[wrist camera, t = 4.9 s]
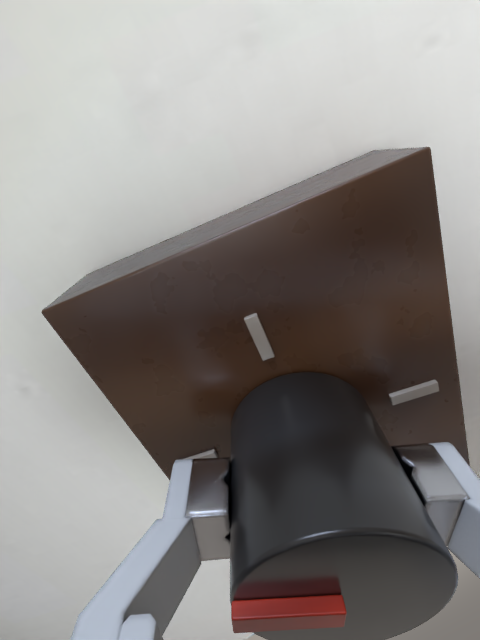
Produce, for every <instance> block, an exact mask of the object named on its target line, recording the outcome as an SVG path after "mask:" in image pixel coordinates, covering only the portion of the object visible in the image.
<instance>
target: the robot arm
mask: <svg viewBox="0 0 480 640" xmlns="http://www.w3.org/2000/svg"><path fill="white" fill-rule="evenodd" d="M391 448H392V449H393V451H394V453H395V455H396V457H397V458H398V460H399V462H400V464H401V466H402V467H403V469H404V471H405V473H406V475H407V477H408V478H409V480H410V482H411V484H412V486H413V487H414V489H415V491H416V493H417V495H418V496H419V498H420V500H421V502H422V504H423V505H424V507H425V509H426V511H427V513H428V514H429V516H430V518H431V520H432V522H433V523H434V525H435V527H436V529H437V531H438V532H439V534H440V536H441V538H442V540H443V541H444V543H445V545H446V546H448V547H447V548H448V549H449V550H450V551H451V552H452V553H453V554H454V555H455V556H456V557H457V558H458V559H459V560H460V561H462V562H463V563H464V564H465V565H466V566H467V567H468V568H469V569H470V570H471V571H472V572H473V573H474V574H475V575H477V577H479V578H480V479H479V478H478V477H477V475H476V474H475V473H474V472H473V470H472V469H471V468H470V466H469V465H468V464H467V463H466V461H465V460H464V459H463V457H462V456H461V455H460V454H459V452H458V451H457V450H456V448H455V447H454V446H453V445H452V444H451V443H449V442H441V443H429V444H427V443H422V444H409V445H397V446H391ZM230 467H231V463H230V458H229V457H225V458H199V459H180V460H175V462H174V464H173V468H172V473H171V478H170V483H169V488H168V493H167V498H166V503H165V508H164V513H163V518H162V519H157V520H156V521H155V522H154V523H153V525H152V526H151V527H150V528H149V529H148V531H147V532H146V533H145V534H144V536H143V537H142V538H141V539H140V541H139V542H138V543H137V544H136V545H135V547H134V548H133V549H132V550H131V552H130V553H129V554H128V555H127V557H126V558H125V559H124V560H123V561H122V563H121V564H120V565H119V566H118V568H117V569H116V570H115V571H114V572H113V574H112V575H111V576H110V577H109V579H108V580H107V581H106V582H105V584H104V585H103V586H102V587H101V588H100V590H99V591H98V592H97V593H96V595H95V596H94V597H93V598H92V600H91V601H90V602H89V603H88V604H87V606H86V607H85V608H84V609H83V611H82V612H81V613H80V614H79V616H78V619H77V622H76V625H75V627H74V630H73V633H72V636H71V639H70V640H163V638H162V635H163V633H164V632H165V630H166V628H167V626H168V624H169V622H170V620H171V619H172V617H173V615H174V613H175V611H176V609H177V608H178V606H179V604H180V602H181V600H182V598H183V596H184V595H185V593H186V591H187V589H188V587H189V585H190V584H191V582H192V580H193V578H194V576H195V574H196V572H197V571H198V569H199V567H200V565H201V561H207V560H218V559H229V558H230Z"/></svg>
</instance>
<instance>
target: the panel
mask: <svg viewBox="0 0 480 640" xmlns="http://www.w3.org/2000/svg"><path fill="white" fill-rule="evenodd" d="M42 314H43V315H44V317H45V318H46V319H47V321H48V322H49V323H50V325H51V326H52V327H53V329H54V330H55V331H56V332H57V334H58V335H59V336H60V338H61V339H62V340H63V342H64V343H65V344H66V346H67V347H68V348H69V349H70V351H71V352H72V353H73V355H74V356H75V357H76V359H77V360H78V361H79V362H80V364H81V365H82V366H83V368H84V369H85V370H86V372H87V373H88V374H89V376H90V377H91V378H92V379H93V381H94V382H95V383H96V385H97V386H98V387H99V389H100V390H101V391H102V392H103V394H104V395H105V396H106V398H107V399H108V400H109V402H110V403H111V404H112V406H113V407H114V408H115V409H116V411H117V412H118V413H119V415H120V416H121V417H122V419H123V420H124V421H125V422H126V424H127V425H128V426H129V428H130V429H131V430H132V432H133V433H134V434H135V436H136V437H137V438H138V439H139V441H140V442H141V443H142V445H143V446H144V447H145V449H146V450H147V451H148V453H149V454H150V455H151V456H152V458H153V459H154V460H155V462H156V463H157V464H158V466H159V467H160V468H161V469H162V471H163V472H164V473H165V475H166V476H167V477H168V479H169V480H170V478H171V473H172V468H173V464H174V462H175V460H180V459H199V458H225V457H229V458H230V463H231V422H232V418H233V415H234V413H235V411H236V409H237V407H238V406H239V404H240V403H241V402H242V400H243V399H244V398H245V397H246V396H247V395H248V394H249V393H250V392H251V391H252V390H254V389H255V388H256V387H258V386H260V385H261V384H263V383H264V382H267V381H269V380H271V379H273V378H276V377H279V376H282V375H287V374H291V373H299V372H315V373H323V374H327V375H331V376H334V377H337V378H339V379H341V380H343V381H345V382H347V383H349V384H350V385H351V386H353V387H354V388H355V389H356V390H357V391H358V392H360V394H361V395H362V396H363V398H364V399H365V401H366V403H367V404H368V406H369V408H370V410H371V412H372V413H373V415H374V417H375V419H376V421H377V422H378V424H379V426H380V428H381V430H382V431H383V433H384V435H385V437H386V439H387V440H388V442H389V444H390V446H397V445H409V444H422V443H427V444H429V443H441V442H449V443H451V444H452V445H453V446H454V447H455V448H456V450H457V451H458V452H459V454H460V455H461V456H462V457H463V459H464V460H465V461H466V463H467V464H468V465H469V457H468V449H467V441H466V432H465V424H464V416H463V408H462V400H461V392H460V384H459V376H458V367H457V359H456V351H455V343H454V335H453V327H452V319H451V311H450V302H449V294H448V286H447V278H446V270H445V262H444V254H443V245H442V237H441V229H440V221H439V213H438V205H437V197H436V189H435V180H434V172H433V164H432V156H431V149H430V148H429V147H420V148H405V149H389V150H374V151H371V152H369V153H367V154H364V155H362V156H360V157H358V158H355V159H353V160H351V161H348V162H346V163H344V164H341V165H339V166H337V167H334V168H332V169H330V170H327V171H325V172H323V173H321V174H318V175H316V176H314V177H311V178H309V179H307V180H304V181H302V182H300V183H297V184H295V185H293V186H291V187H288V188H286V189H284V190H281V191H279V192H277V193H274V194H272V195H270V196H267V197H265V198H263V199H261V200H258V201H256V202H254V203H251V204H249V205H247V206H244V207H242V208H240V209H237V210H235V211H233V212H230V213H228V214H226V215H224V216H221V217H219V218H217V219H214V220H212V221H210V222H207V223H205V224H203V225H200V226H198V227H196V228H194V229H191V230H189V231H187V232H184V233H182V234H180V235H177V236H175V237H173V238H170V239H168V240H166V241H163V242H161V243H159V244H157V245H154V246H152V247H150V248H147V249H145V250H143V251H140V252H138V253H136V254H133V255H131V256H129V257H127V258H124V259H122V260H120V261H117V262H115V263H113V264H110V265H108V266H106V267H103V268H101V269H99V270H97V271H94V272H92V273H90V274H87V275H86V276H85V277H83V278H82V279H81V280H80V281H78V282H77V283H76V284H75V285H73V286H72V287H71V288H70V289H68V290H67V291H66V292H65V293H63V294H62V295H61V296H60V297H58V298H57V299H56V300H55V301H53V302H52V303H51V304H50V305H48V306H47V307H46V308H44V309H43V310H42ZM469 466H470V465H469Z"/></svg>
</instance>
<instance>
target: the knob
mask: <svg viewBox="0 0 480 640" xmlns="http://www.w3.org/2000/svg"><path fill="white" fill-rule="evenodd" d="M457 584H458V574H457V568H456V564H455V562H454V560H453V558H452V556H451V554H450V552H449V550H448V549H447V547H446V545H445V543H444V541H443V540H442V538H441V536H440V534H439V532H438V531H437V529H436V527H435V525H434V523H433V522H432V520H431V518H430V516H429V514H428V513H427V511H426V509H425V507H424V505H423V504H422V502H421V500H420V498H419V496H418V495H417V493H416V491H415V489H414V487H413V486H412V484H411V482H410V480H409V478H408V477H407V475H406V473H405V471H404V469H403V467H402V466H401V464H400V462H399V460H398V458H397V457H396V455H395V453H394V451H393V449H392V448H391V446H390V444H389V442H388V440H387V439H386V437H385V435H384V433H383V431H382V430H381V428H380V426H379V424H378V422H377V421H376V419H375V417H374V415H373V413H372V412H371V410H370V408H369V406H368V404H367V403H366V401H365V399H364V398H363V396H362V395H361V394H360V392H358V391H357V390H356V389H355V388H354V387H353V386H351V385H350V384H349V383H347V382H345V381H343V380H341V379H339V378H337V377H334V376H331V375H327V374H323V373H315V372H299V373H291V374H287V375H282V376H279V377H276V378H273V379H271V380H269V381H267V382H264V383H263V384H261V385H260V386H258V387H256V388H255V389H254V390H252V391H251V392H250V393H249V394H248V395H247V396H246V397H245V398H244V399H243V400H242V402H241V403H240V404H239V406H238V407H237V409H236V411H235V413H234V415H233V418H232V422H231V467H230V602H231V606H232V608H231V618H232V625H233V631H234V633H245V632H253V633H255V634H256V635H258V636H261V637H263V638H265V639H268V640H385V639H388V638H391V637H394V636H397V635H400V634H402V633H405V632H407V631H409V630H411V629H413V628H415V627H417V626H419V625H421V624H422V623H424V622H426V621H428V620H429V619H430V618H432V617H433V616H435V615H436V614H437V613H438V612H439V611H441V610H442V609H443V608H444V607H445V606H446V604H447V603H448V602H449V601H450V600H451V598H452V596H453V595H454V593H455V591H456V588H457Z"/></svg>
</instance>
